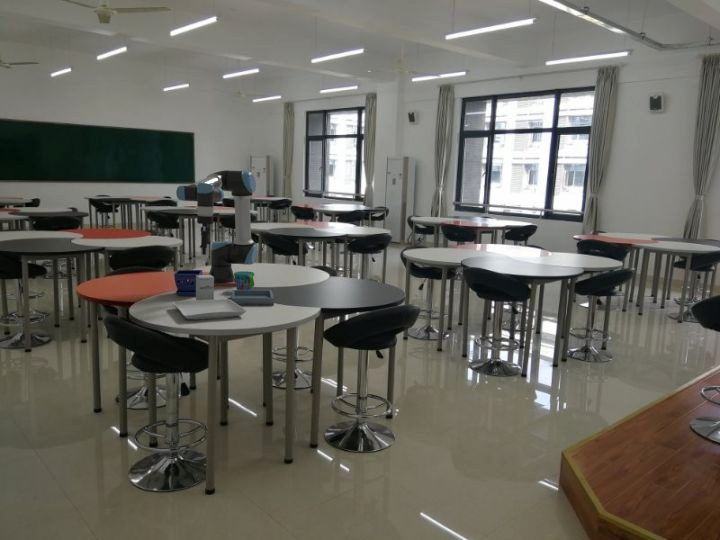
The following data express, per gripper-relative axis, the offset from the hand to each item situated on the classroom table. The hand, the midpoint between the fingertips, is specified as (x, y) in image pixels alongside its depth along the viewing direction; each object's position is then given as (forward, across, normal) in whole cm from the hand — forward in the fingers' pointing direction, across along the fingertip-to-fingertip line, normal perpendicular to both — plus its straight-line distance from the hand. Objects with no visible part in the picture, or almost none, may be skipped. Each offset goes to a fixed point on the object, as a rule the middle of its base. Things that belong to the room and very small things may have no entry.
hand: (204, 259), depth 266 cm
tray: (+21, -1, +23) cm, 31 cm away
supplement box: (+21, 0, 0) cm, 21 cm away
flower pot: (+21, -16, -9) cm, 28 cm away
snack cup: (+21, -25, +19) cm, 38 cm away
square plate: (+22, +24, +3) cm, 32 cm away
